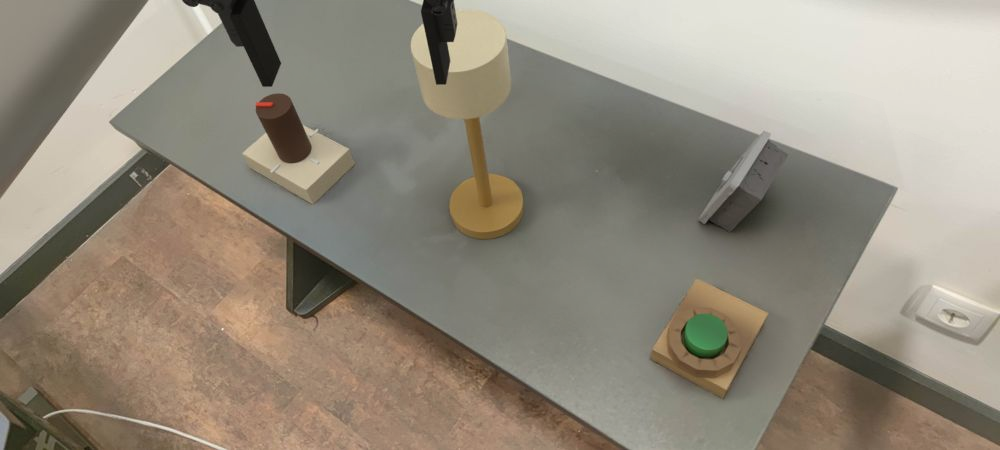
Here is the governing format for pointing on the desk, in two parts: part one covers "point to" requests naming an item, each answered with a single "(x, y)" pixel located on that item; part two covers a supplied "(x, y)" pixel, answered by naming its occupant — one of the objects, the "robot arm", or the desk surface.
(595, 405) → the desk surface
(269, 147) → the dimmer panel
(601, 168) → the desk surface
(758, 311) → the power button base
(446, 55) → the robot arm
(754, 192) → the electrical switch
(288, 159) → the dimmer knob
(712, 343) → the power button
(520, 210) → the desk lamp
